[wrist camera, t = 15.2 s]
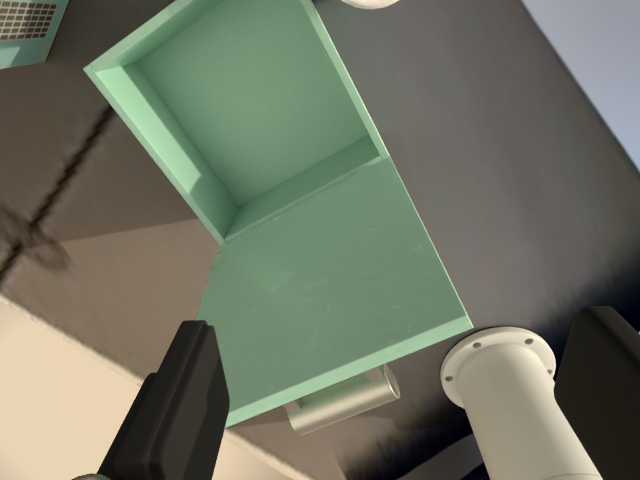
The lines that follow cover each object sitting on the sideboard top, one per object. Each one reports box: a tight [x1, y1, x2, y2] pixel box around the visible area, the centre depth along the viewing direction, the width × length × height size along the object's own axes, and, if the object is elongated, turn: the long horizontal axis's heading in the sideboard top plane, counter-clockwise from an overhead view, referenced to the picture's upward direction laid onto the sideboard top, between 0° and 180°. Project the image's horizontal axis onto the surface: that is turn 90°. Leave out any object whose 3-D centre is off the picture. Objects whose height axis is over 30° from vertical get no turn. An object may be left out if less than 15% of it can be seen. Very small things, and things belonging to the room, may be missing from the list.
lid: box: [195, 156, 473, 435], centre depth 25 cm, size 16×15×5 cm
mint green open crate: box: [83, 0, 390, 246], centre depth 31 cm, size 15×15×7 cm
